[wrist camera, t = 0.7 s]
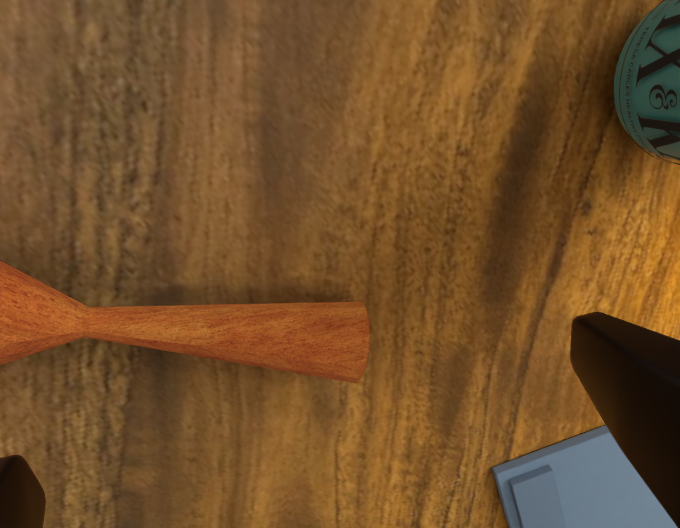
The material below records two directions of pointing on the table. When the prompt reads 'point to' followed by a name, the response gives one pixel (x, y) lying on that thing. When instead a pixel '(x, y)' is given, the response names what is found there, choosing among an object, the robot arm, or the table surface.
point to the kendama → (191, 329)
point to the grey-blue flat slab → (578, 487)
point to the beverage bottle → (652, 82)
